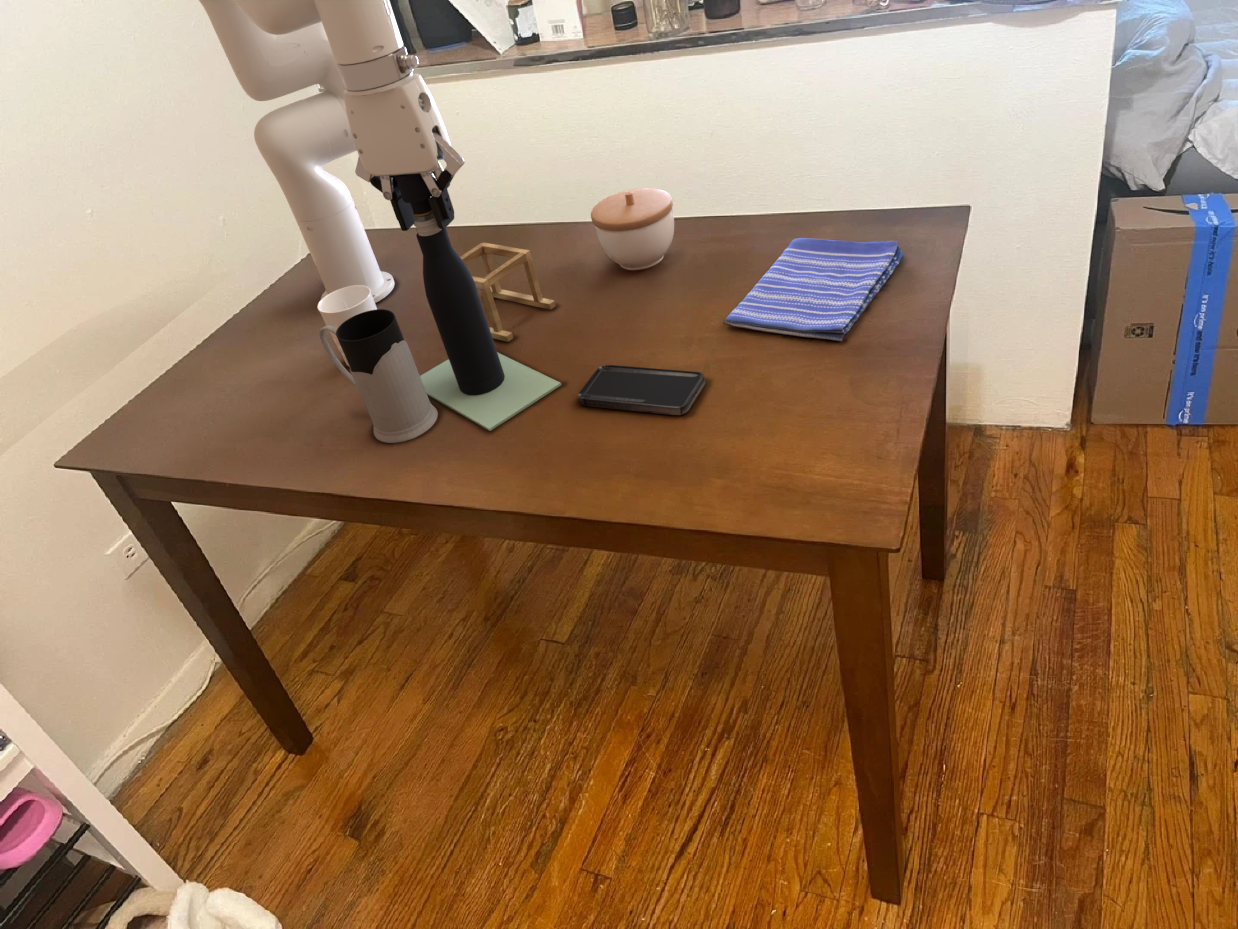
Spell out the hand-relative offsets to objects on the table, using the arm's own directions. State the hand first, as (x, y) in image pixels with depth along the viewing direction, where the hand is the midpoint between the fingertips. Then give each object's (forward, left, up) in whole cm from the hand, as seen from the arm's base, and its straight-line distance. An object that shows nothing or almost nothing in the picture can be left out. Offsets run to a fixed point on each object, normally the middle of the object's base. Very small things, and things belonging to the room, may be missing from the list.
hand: (428, 223), depth 115 cm
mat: (0, 0, -24) cm, 24 cm away
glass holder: (-5, -12, -24) cm, 27 cm away
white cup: (-23, -5, -24) cm, 34 cm away
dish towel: (+24, +41, -24) cm, 53 cm away
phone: (+21, +11, -24) cm, 33 cm away
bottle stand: (-14, +13, -24) cm, 30 cm away
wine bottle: (0, 0, -24) cm, 24 cm away
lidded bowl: (-7, +37, -24) cm, 44 cm away
